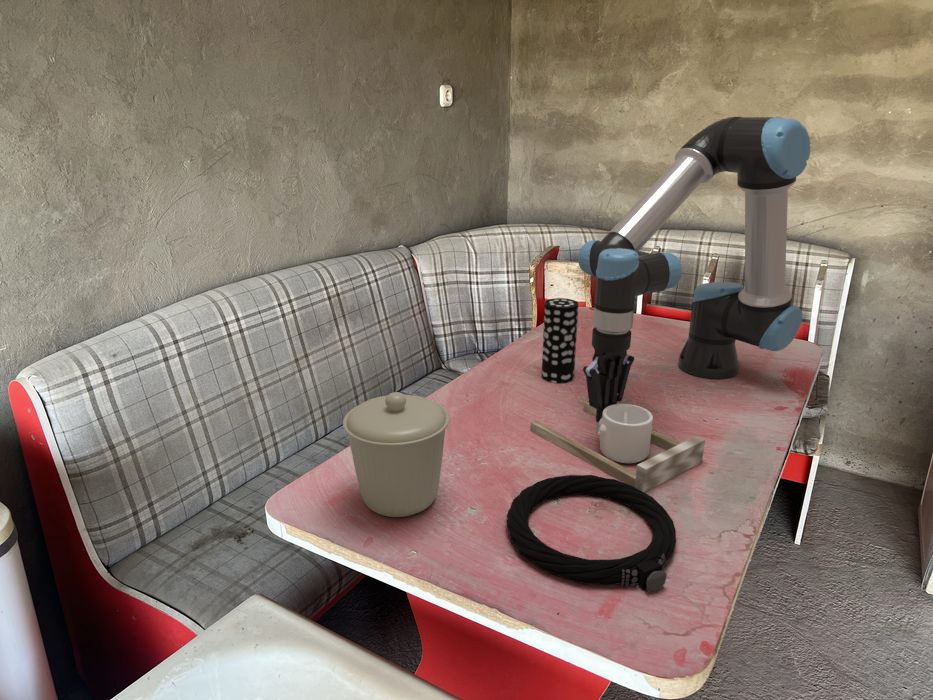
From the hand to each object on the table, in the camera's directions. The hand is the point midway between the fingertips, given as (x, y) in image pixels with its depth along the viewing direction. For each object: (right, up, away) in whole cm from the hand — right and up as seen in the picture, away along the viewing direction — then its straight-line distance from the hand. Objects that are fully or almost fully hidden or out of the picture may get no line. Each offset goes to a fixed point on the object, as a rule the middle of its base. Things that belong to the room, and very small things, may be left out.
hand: (603, 434), depth 138 cm
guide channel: (+1, -2, -1) cm, 3 cm away
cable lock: (-8, -13, -29) cm, 33 cm away
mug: (+3, -3, -4) cm, 6 cm away
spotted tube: (-5, +11, +32) cm, 35 cm away
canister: (-41, -9, -20) cm, 46 cm away
